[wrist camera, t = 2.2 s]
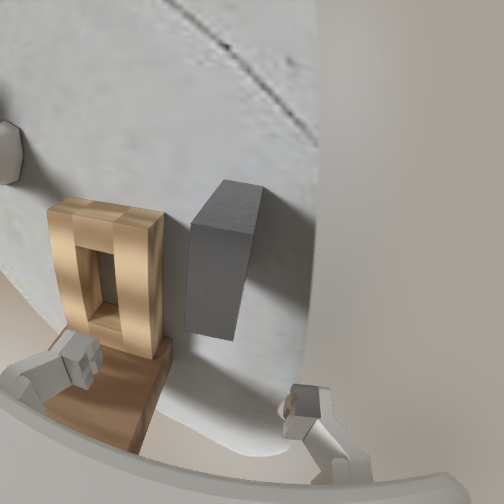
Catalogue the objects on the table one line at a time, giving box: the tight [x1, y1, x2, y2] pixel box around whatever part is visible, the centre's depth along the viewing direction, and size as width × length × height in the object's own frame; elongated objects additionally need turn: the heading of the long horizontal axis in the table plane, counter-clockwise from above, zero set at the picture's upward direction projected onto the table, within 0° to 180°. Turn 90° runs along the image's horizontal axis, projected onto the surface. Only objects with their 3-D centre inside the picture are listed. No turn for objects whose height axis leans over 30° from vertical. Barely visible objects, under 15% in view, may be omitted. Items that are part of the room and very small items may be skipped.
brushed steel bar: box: [184, 180, 263, 341], centre depth 20 cm, size 7×3×9 cm, turn 170°
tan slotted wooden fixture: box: [43, 197, 172, 455], centre depth 18 cm, size 18×12×22 cm, turn 170°
